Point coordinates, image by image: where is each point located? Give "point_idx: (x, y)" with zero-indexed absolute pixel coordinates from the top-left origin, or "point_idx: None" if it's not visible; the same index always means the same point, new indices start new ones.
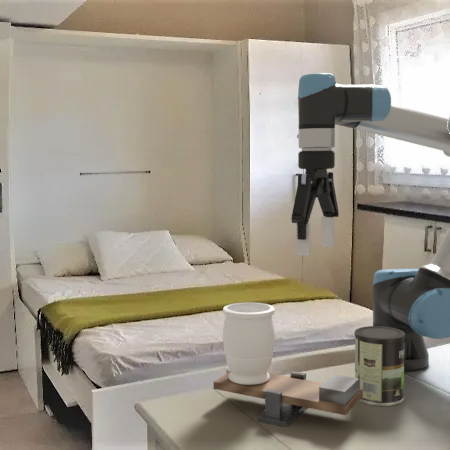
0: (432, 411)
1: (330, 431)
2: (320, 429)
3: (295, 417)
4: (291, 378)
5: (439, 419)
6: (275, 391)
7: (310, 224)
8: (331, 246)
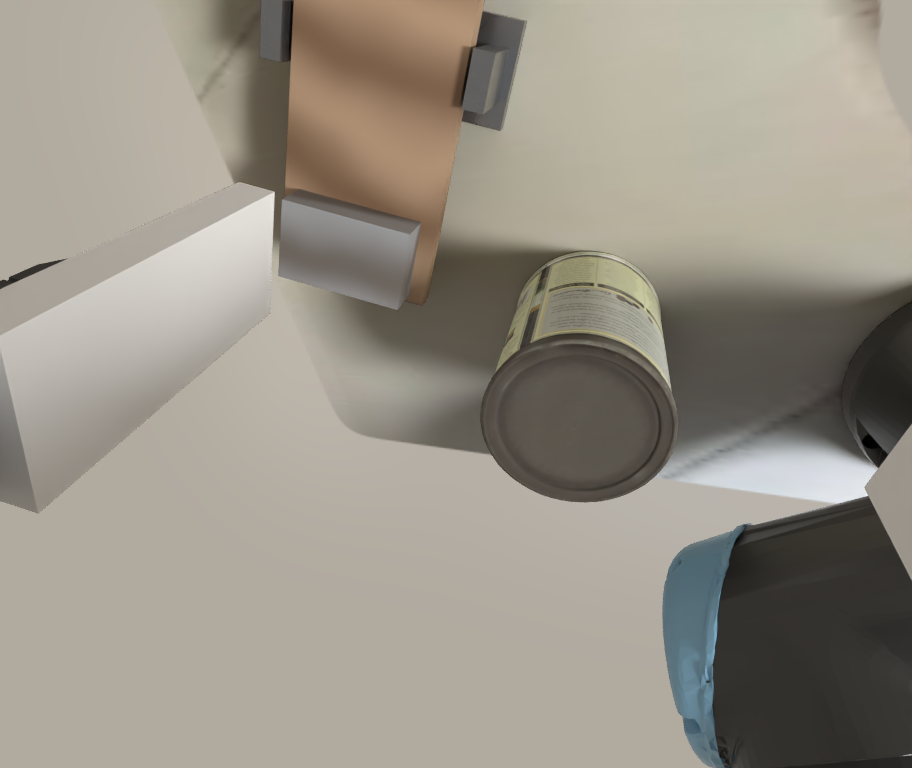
0: None
1: None
2: None
3: None
4: (454, 56)
5: (470, 441)
6: (273, 35)
7: (50, 502)
8: (876, 479)
